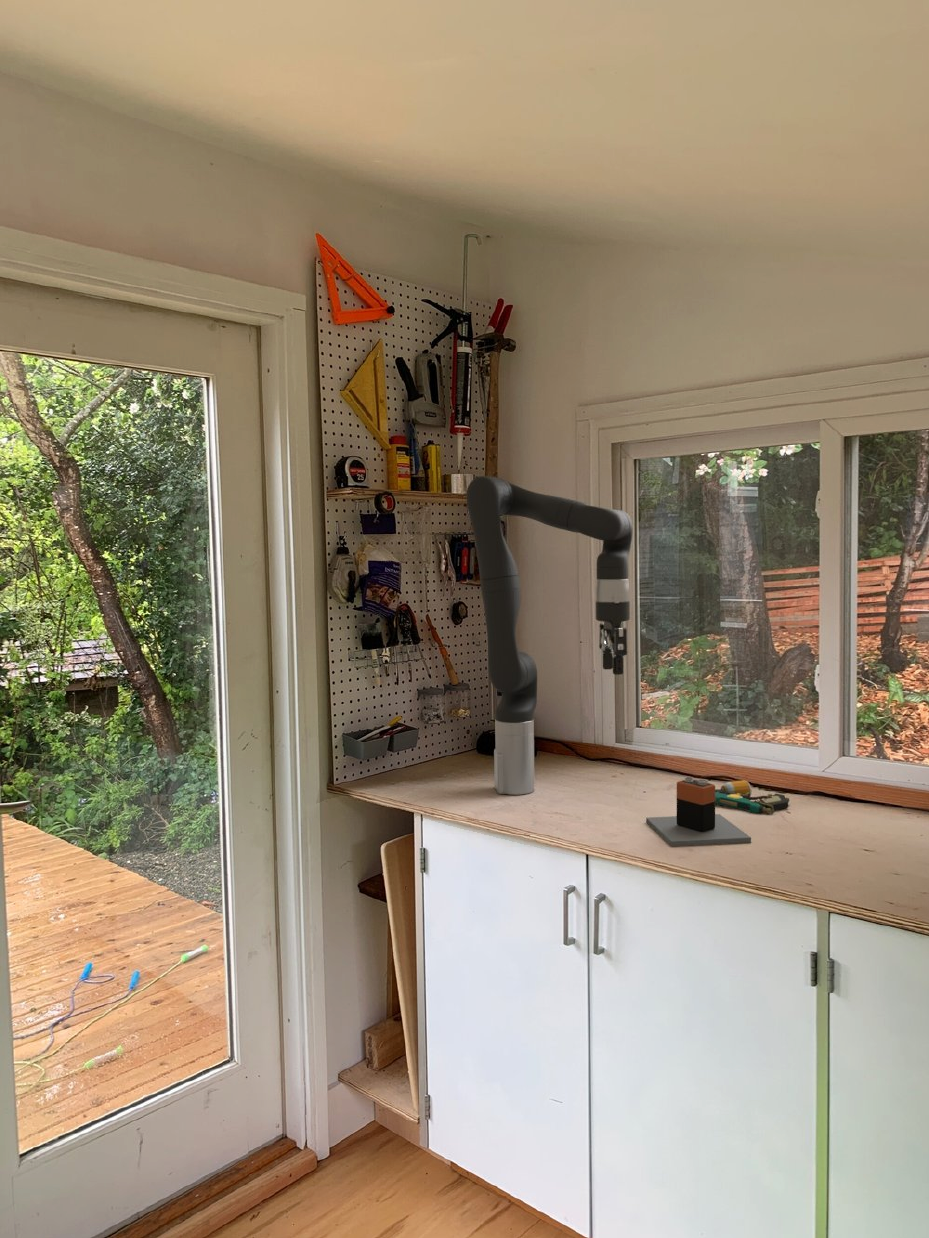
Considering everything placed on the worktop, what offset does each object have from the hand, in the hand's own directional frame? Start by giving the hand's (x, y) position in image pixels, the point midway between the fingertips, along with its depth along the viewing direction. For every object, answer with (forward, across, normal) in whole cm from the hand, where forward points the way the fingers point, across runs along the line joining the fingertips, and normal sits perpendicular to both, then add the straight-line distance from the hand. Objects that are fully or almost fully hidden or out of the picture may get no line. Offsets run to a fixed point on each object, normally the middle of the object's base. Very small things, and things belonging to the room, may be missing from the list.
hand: (612, 671), depth 205 cm
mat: (+30, +23, +11) cm, 39 cm away
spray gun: (+31, +5, +29) cm, 43 cm away
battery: (+29, +23, +11) cm, 39 cm away
